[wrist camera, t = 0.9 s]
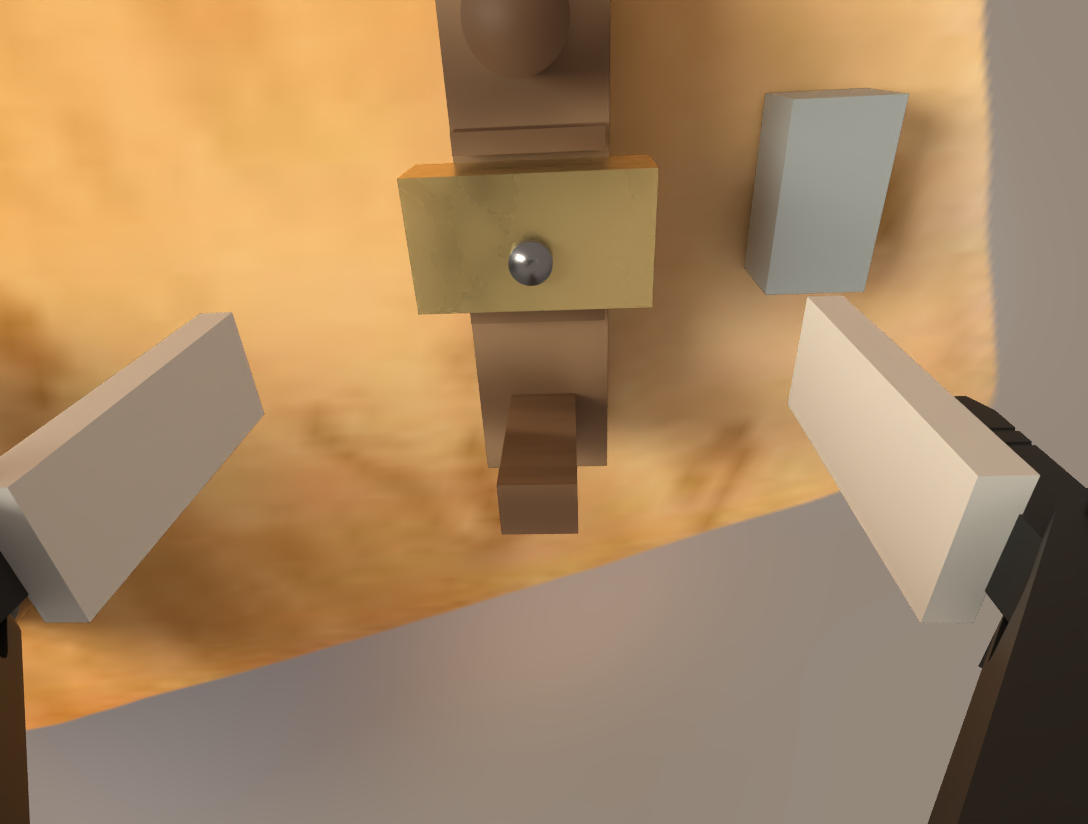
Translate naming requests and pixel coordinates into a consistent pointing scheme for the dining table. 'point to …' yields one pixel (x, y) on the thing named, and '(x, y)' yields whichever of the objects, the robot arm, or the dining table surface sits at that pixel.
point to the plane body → (534, 336)
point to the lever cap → (531, 234)
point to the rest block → (821, 188)
